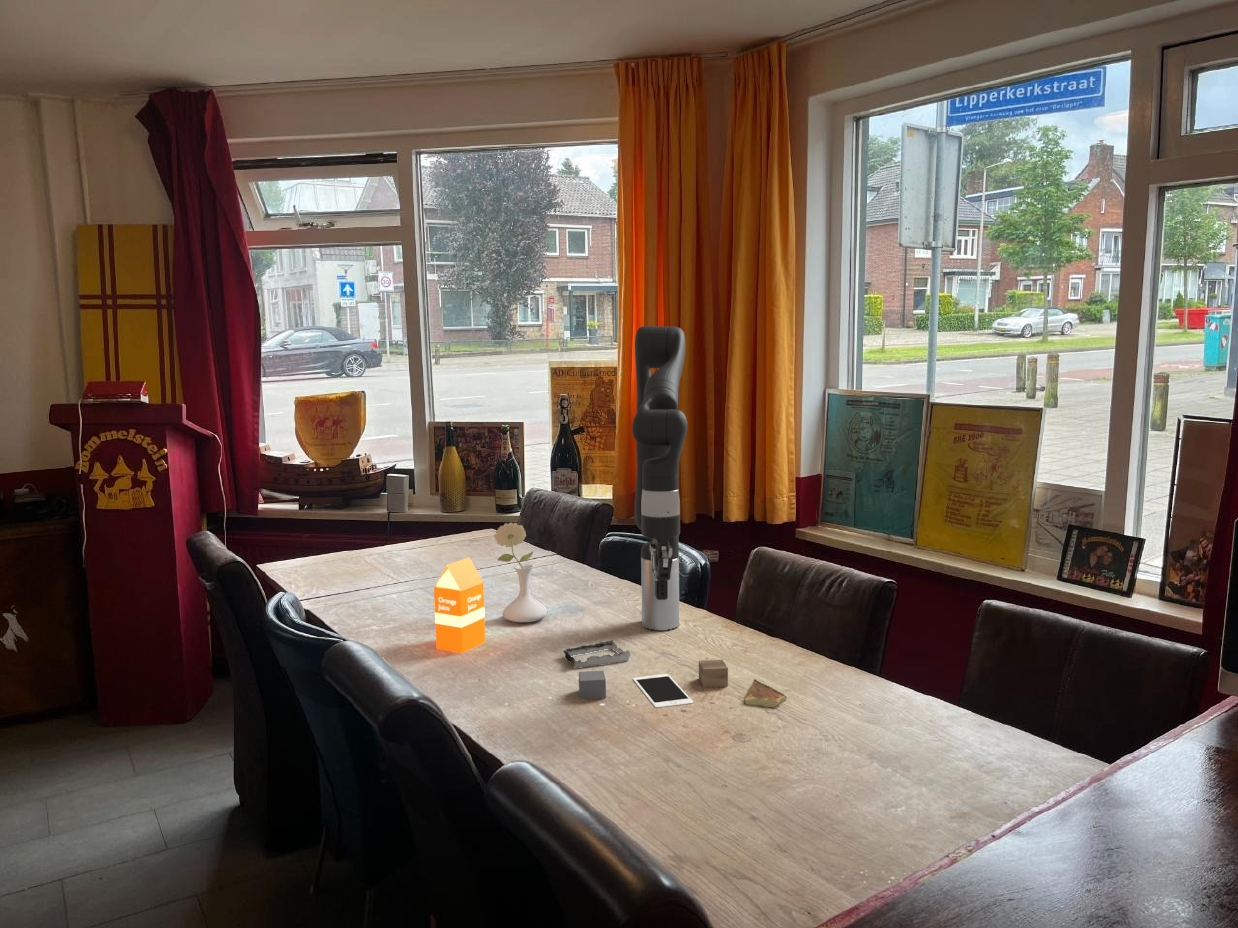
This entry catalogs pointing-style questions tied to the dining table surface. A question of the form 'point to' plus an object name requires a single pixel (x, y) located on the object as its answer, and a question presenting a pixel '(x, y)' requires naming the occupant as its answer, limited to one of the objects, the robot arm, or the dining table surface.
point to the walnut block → (713, 673)
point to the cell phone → (662, 691)
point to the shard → (763, 695)
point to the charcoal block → (592, 685)
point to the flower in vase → (524, 604)
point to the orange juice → (459, 608)
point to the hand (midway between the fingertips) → (661, 598)
